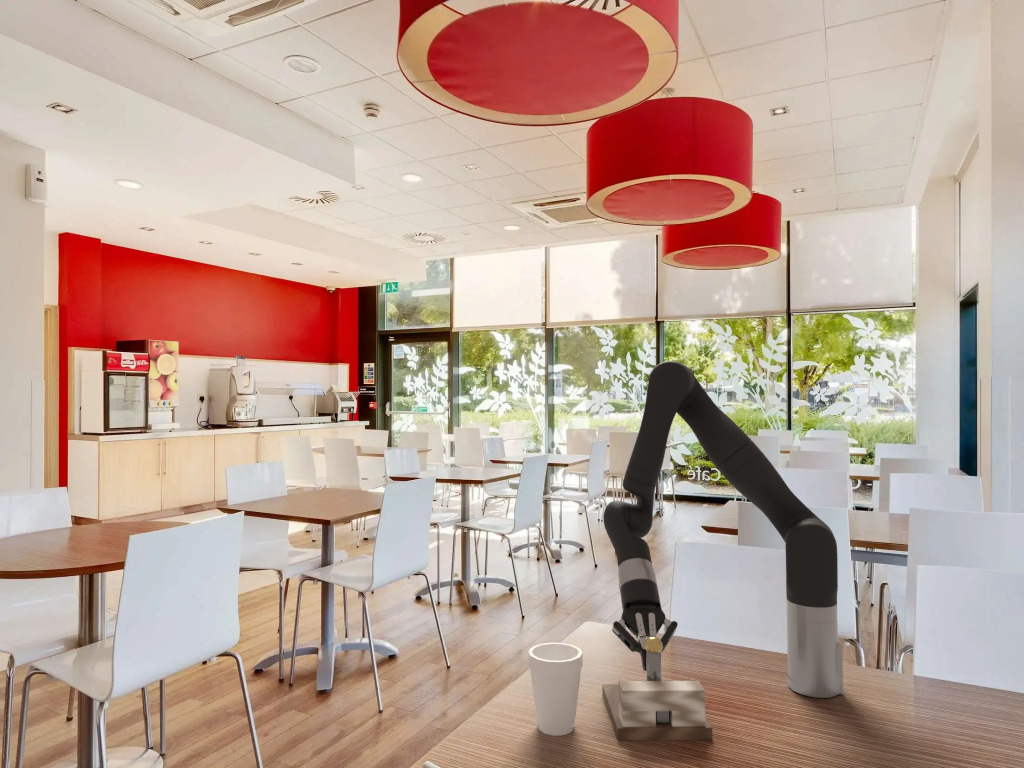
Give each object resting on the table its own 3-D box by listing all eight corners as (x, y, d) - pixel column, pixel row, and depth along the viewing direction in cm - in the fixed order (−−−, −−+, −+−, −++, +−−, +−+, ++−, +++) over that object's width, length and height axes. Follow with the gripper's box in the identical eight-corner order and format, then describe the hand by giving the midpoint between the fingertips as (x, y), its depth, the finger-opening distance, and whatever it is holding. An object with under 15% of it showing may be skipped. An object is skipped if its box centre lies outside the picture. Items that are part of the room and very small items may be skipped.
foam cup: (582, 716, 123) (582, 643, 124) (583, 741, 114) (582, 662, 114) (530, 713, 124) (530, 642, 125) (526, 738, 115) (526, 661, 115)
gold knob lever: (660, 699, 125) (659, 633, 125) (672, 722, 116) (671, 650, 116) (643, 699, 125) (642, 633, 125) (653, 722, 116) (652, 650, 116)
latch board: (684, 694, 132) (684, 652, 133) (712, 739, 114) (711, 691, 115) (602, 694, 132) (602, 653, 132) (617, 740, 114) (616, 692, 114)
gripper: (607, 577, 135) (618, 663, 122) (674, 576, 135) (691, 662, 122) (603, 596, 140) (613, 681, 127) (668, 596, 140) (684, 680, 127)
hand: (651, 672), depth 125 cm, fingers closed
